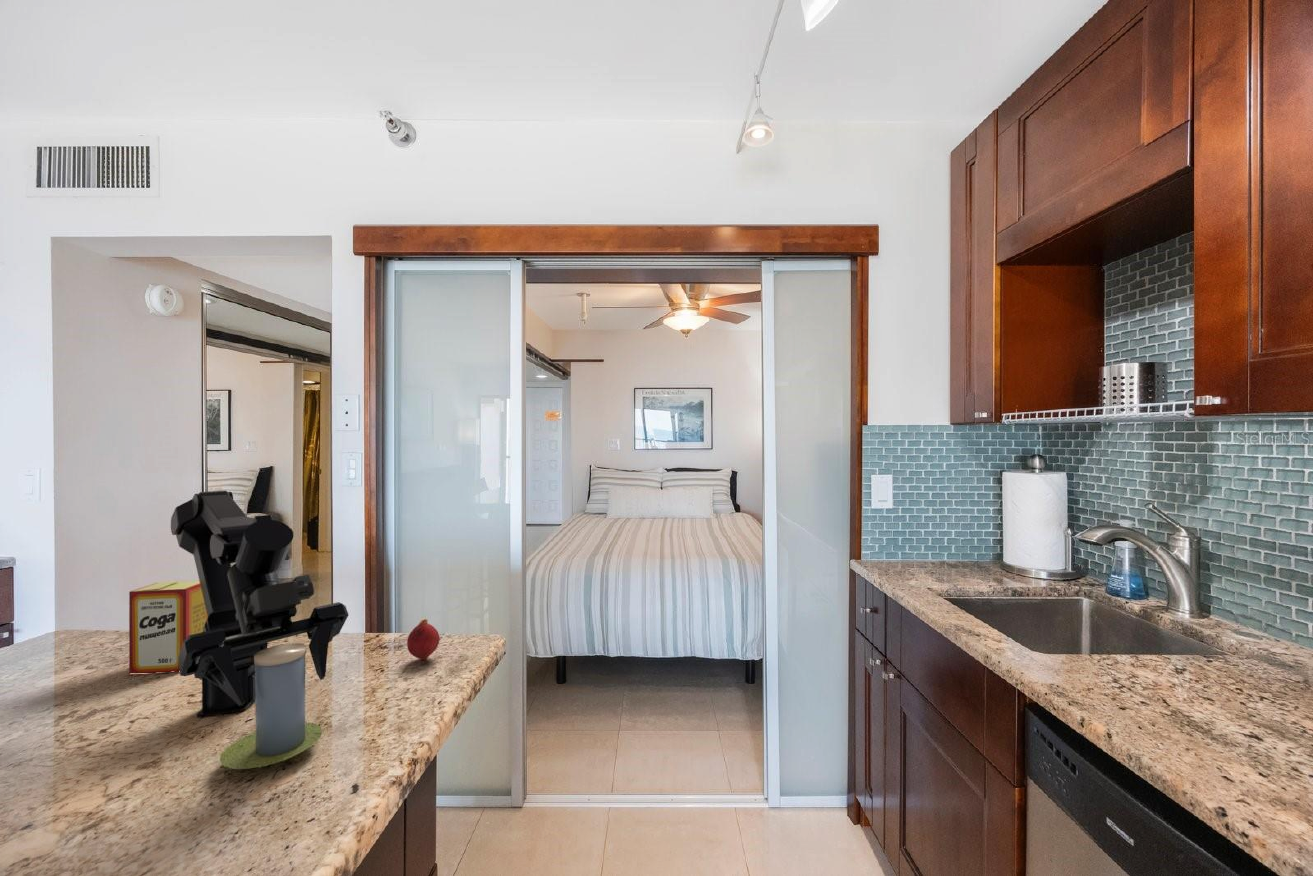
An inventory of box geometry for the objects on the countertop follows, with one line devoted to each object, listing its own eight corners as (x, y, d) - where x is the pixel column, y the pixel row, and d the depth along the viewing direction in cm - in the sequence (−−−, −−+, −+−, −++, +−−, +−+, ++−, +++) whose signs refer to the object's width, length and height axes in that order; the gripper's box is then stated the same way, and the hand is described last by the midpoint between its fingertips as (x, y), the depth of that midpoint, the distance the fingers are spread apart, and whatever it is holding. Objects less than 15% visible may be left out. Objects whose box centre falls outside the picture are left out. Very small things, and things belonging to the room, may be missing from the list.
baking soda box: (209, 657, 107) (209, 578, 107) (186, 671, 101) (186, 587, 101) (156, 661, 106) (156, 581, 106) (129, 675, 99) (129, 589, 99)
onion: (427, 667, 101) (426, 624, 101) (400, 665, 102) (400, 623, 102) (445, 655, 106) (444, 615, 107) (419, 653, 108) (419, 613, 108)
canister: (244, 758, 68) (243, 661, 68) (269, 734, 74) (269, 644, 74) (293, 754, 69) (292, 658, 69) (314, 730, 75) (314, 641, 75)
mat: (244, 742, 76) (244, 728, 76) (333, 729, 79) (333, 716, 79) (200, 791, 65) (200, 775, 65) (305, 774, 68) (305, 759, 68)
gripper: (183, 573, 67) (205, 684, 60) (343, 549, 82) (376, 636, 75) (169, 623, 72) (189, 731, 65) (323, 592, 86) (352, 677, 79)
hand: (284, 690), depth 71 cm, fingers open, 9 cm apart
